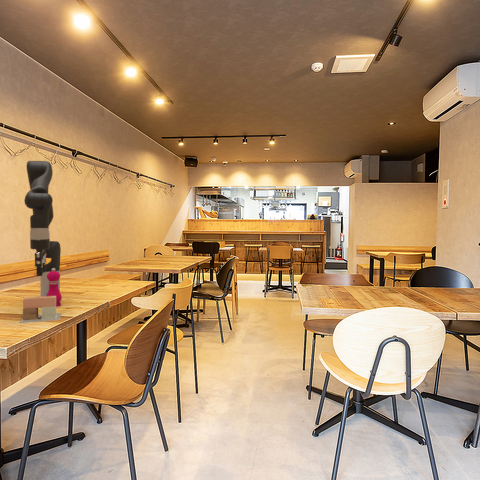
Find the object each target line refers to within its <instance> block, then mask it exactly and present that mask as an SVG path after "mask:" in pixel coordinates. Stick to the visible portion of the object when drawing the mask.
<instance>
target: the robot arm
mask: <svg viewBox="0 0 480 480" xmlns="http://www.w3.org/2000/svg"><path fill="white" fill-rule="evenodd" d="M26 173H27V178H28V179H27V180H28V184H29V188H30V190H28V192H27V193H26V194H25V196H24V205H25V206H26V208H28V209H31V210H32V215H30V216H29V217H30V218H29V223H30V228H29V229H30V230H29V243H30V249H31V250H35V251H36V252H34V267H35V268H36V276H37V277H39V279H40V280H39V281H40V287H39V289H40V297H43V296H47V293H48V291H49V284H48V281H49V280H48V279H47V274H48V273H49V272H51V271H52V268H55V271H57V272H59V273H60V274H61V271H60V269H61V268H60V267H61V250H62V249H61V243H60V242H59V241H56V240H52V241H51V240H50V239H51V237H50V235H51V234H50V229H49V228H50V225H51V223H52V221H53V219H54V207H53V196H52V195H51V194H50V193H49V188H50V187H49V185H50V184H51V181H52V178H53V165H52V163H51V162H49V161H47V160H28V161H27V162H26ZM47 259H50V261H49V262H48V263H47ZM60 279H61V277H60V278H59V283H58V288H59V291H60V292H61V280H60Z"/></svg>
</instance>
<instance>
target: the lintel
mask: <svg viewBox="0 0 480 480" xmlns="http://www.w3.org/2000/svg"><path fill="white" fill-rule="evenodd" d="M22 305H23V306H22V307H23V308H22V310H23V309H26V308H38V309H39V308H40V309H42V307H55V306H56V296H43V297H41V296H31V297H28V296H27V297H24V298H23V299H22Z"/></svg>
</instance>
